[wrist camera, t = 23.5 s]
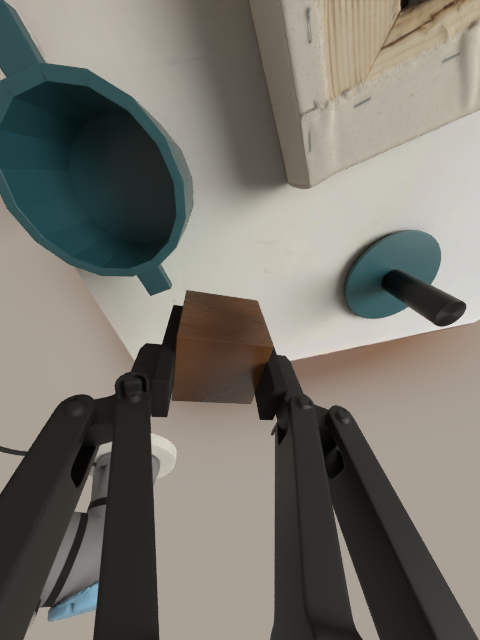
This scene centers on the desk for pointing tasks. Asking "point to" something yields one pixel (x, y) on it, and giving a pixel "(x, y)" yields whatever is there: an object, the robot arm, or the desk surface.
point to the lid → (401, 280)
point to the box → (364, 76)
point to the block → (219, 349)
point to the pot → (87, 165)
